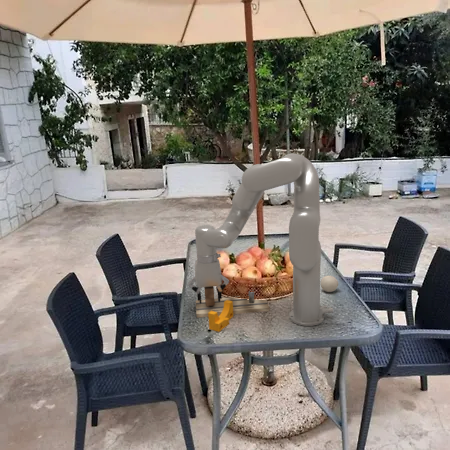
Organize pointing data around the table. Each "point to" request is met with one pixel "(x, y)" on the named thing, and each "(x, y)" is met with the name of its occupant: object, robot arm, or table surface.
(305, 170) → the robot arm
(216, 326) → the pipe clamp
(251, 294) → the fixed leg
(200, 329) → the table surface
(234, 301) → the board
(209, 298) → the block
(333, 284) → the baseball
